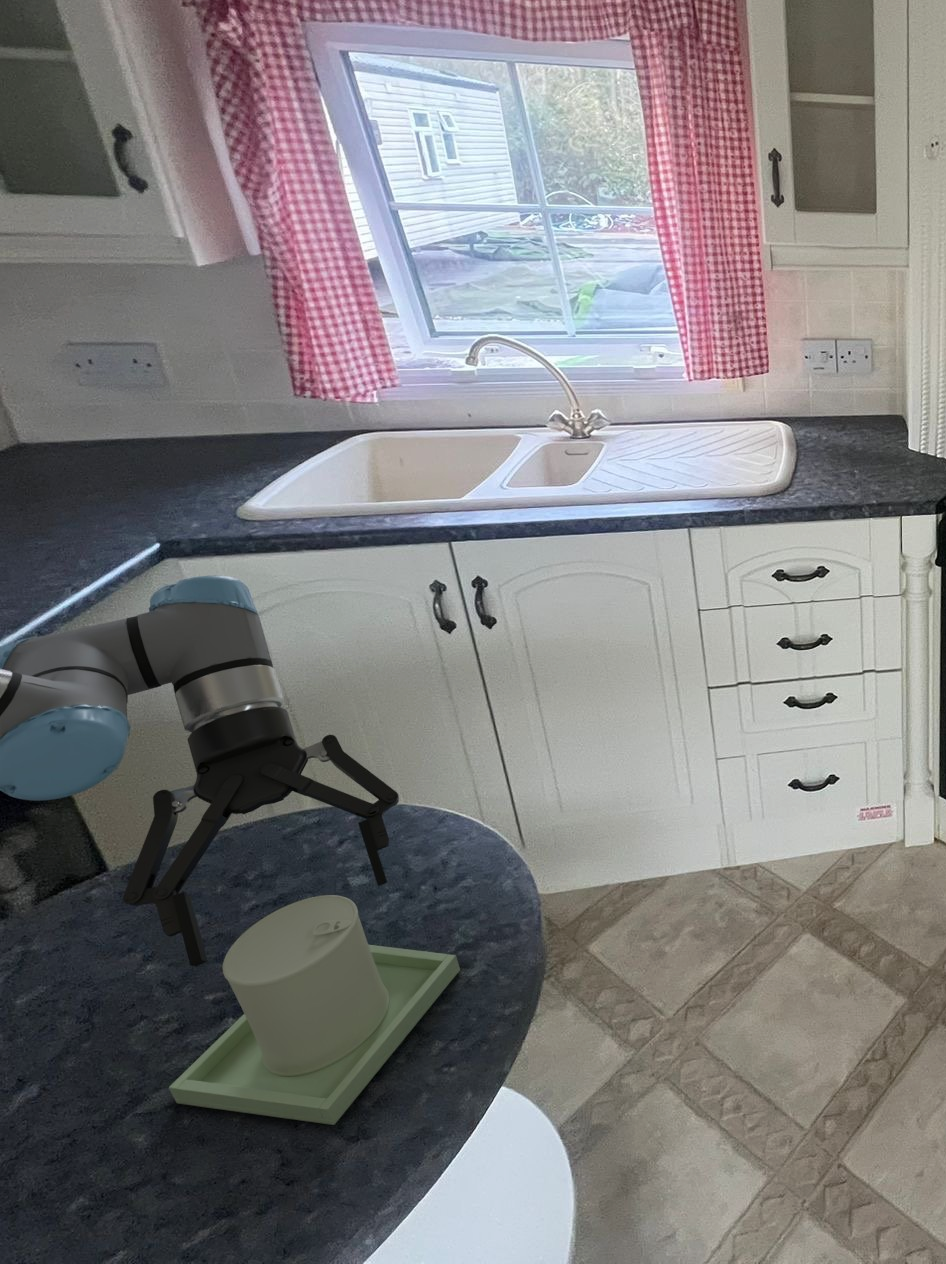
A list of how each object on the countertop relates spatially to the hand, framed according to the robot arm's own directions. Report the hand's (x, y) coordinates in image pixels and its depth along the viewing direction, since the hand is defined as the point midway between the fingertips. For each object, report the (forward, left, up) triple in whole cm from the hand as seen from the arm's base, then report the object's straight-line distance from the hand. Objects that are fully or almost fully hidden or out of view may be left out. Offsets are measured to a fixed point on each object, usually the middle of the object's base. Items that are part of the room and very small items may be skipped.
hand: (296, 921), depth 79 cm
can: (+8, -1, -7) cm, 11 cm away
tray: (+8, -1, -7) cm, 11 cm away
